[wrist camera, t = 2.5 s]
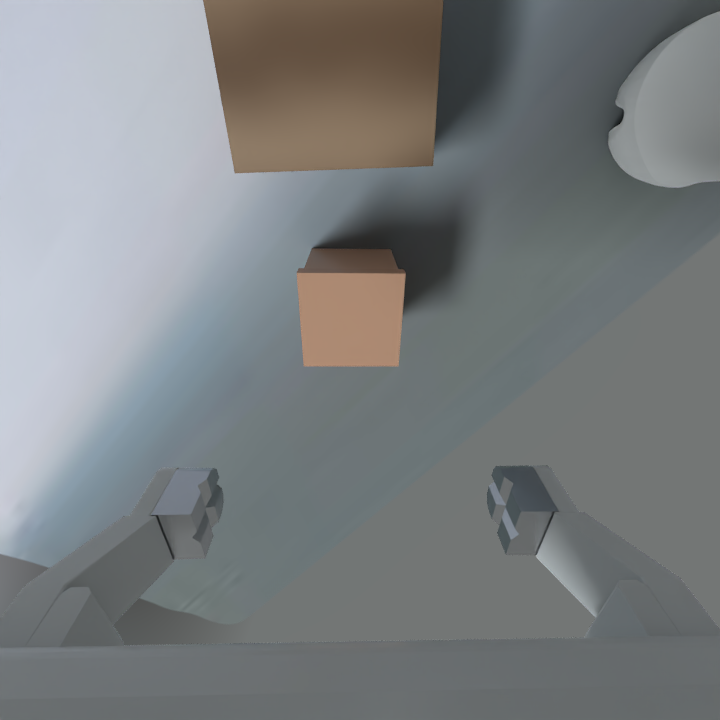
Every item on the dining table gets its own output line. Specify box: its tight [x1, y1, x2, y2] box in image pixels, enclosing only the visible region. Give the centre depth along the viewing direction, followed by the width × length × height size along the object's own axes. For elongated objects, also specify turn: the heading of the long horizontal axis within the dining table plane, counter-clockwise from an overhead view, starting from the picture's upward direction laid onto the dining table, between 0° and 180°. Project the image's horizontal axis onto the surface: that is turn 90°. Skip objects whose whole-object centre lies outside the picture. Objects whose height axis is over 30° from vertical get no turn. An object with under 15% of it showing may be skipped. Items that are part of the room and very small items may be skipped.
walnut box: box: [203, 0, 443, 173], centre depth 17 cm, size 9×9×6 cm
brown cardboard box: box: [297, 248, 406, 366], centre depth 23 cm, size 6×6×6 cm
